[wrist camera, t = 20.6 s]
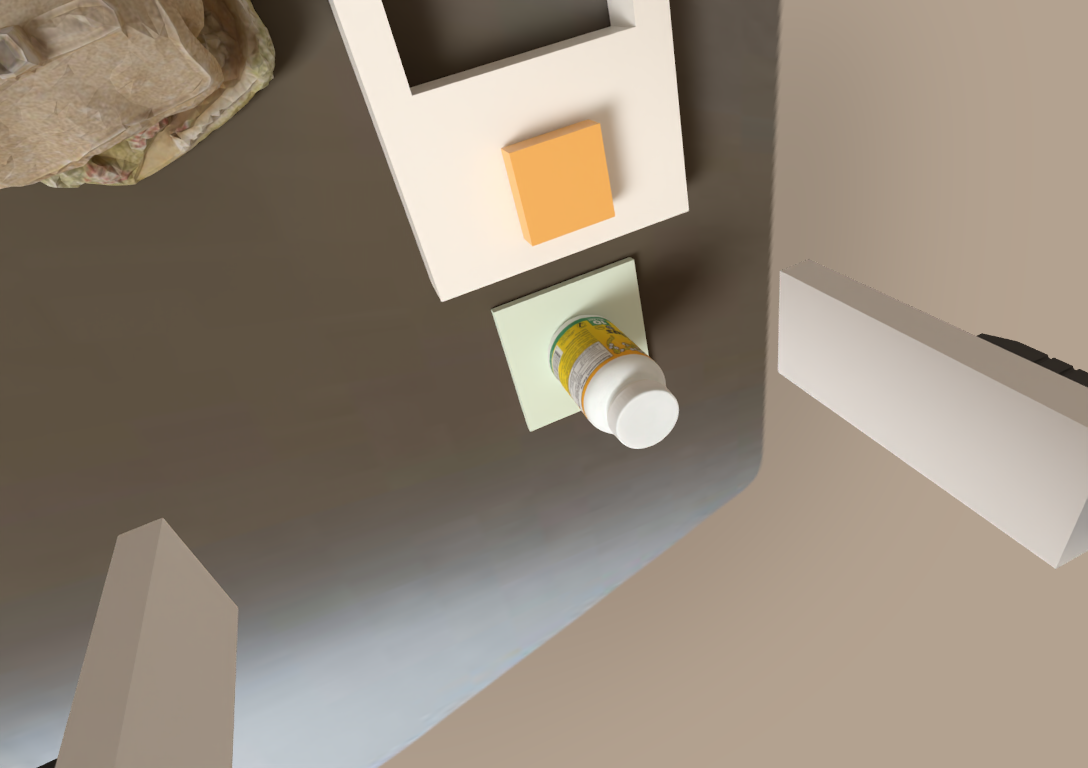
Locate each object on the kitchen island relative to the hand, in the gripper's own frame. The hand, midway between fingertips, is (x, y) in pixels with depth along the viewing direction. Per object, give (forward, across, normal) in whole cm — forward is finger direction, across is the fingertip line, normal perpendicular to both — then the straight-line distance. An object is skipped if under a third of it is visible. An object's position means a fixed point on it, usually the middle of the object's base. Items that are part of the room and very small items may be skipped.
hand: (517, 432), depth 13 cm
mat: (+25, +10, -15) cm, 31 cm away
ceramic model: (+26, -9, +8) cm, 29 cm away
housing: (+25, +10, +3) cm, 27 cm away
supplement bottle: (+25, +10, -15) cm, 31 cm away
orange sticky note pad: (+25, +10, -3) cm, 27 cm away
